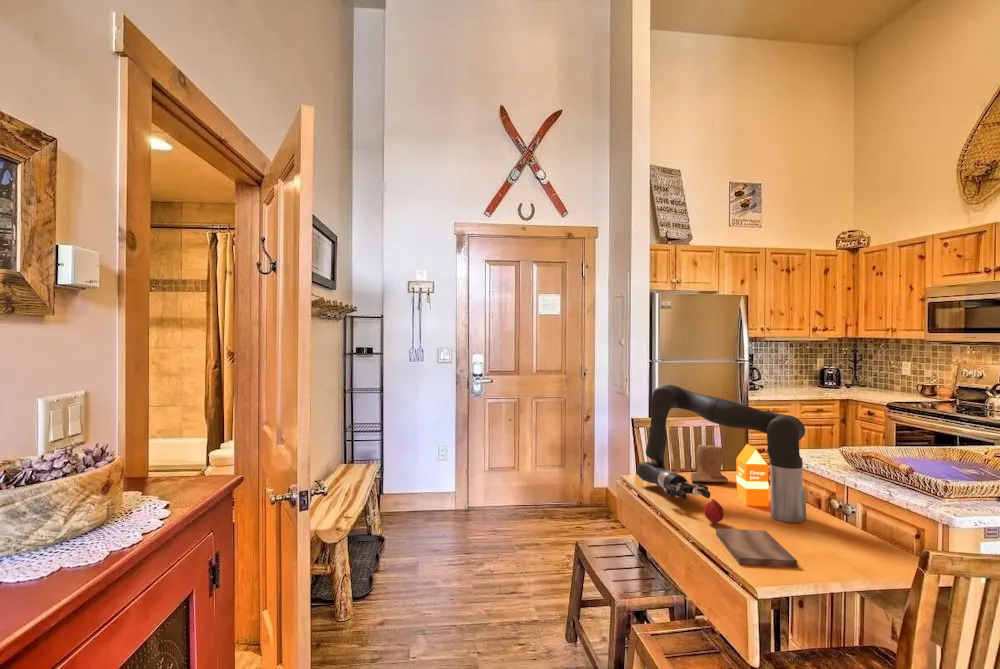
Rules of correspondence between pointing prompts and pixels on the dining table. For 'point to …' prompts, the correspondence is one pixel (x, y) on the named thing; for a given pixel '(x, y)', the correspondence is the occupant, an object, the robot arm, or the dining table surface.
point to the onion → (714, 511)
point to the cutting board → (755, 548)
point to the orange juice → (752, 478)
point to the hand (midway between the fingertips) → (697, 496)
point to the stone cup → (709, 464)
